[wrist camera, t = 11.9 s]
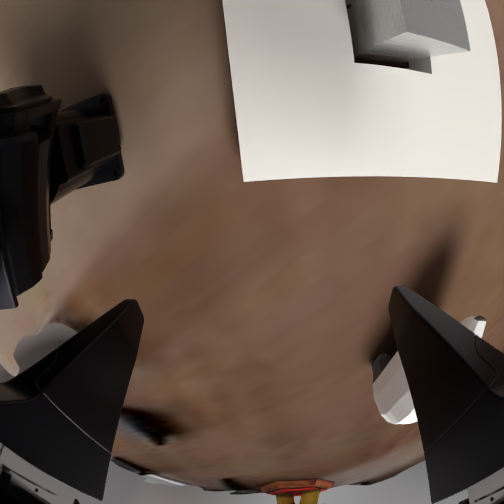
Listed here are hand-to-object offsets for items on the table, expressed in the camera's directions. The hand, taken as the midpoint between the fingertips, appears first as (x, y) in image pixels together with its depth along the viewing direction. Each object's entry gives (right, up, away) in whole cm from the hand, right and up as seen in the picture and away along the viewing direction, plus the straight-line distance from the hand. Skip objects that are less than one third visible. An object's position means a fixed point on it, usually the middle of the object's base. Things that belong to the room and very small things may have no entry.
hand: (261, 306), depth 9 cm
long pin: (+7, +16, +3) cm, 17 cm away
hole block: (+7, +16, +3) cm, 17 cm away
